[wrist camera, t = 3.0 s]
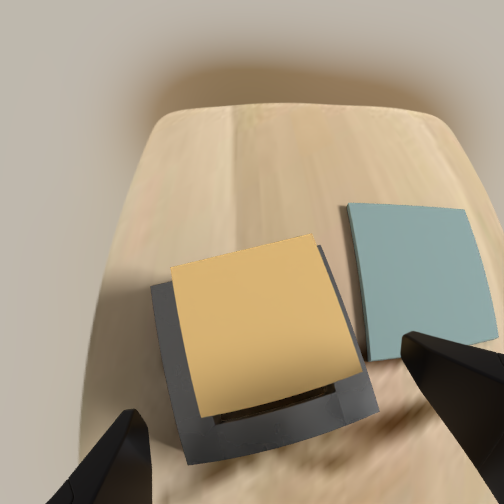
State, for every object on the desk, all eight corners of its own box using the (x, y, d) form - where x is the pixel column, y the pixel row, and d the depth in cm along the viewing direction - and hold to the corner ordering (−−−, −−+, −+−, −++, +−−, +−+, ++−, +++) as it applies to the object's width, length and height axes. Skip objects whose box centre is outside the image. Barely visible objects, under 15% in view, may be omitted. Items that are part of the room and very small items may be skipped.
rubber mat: (461, 213, 23) (464, 209, 22) (494, 339, 17) (498, 337, 17) (346, 207, 23) (348, 202, 23) (367, 361, 18) (371, 360, 17)
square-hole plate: (312, 265, 21) (320, 244, 18) (362, 410, 16) (379, 411, 13) (164, 302, 20) (150, 286, 17) (198, 455, 15) (187, 465, 12)
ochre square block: (287, 313, 19) (311, 233, 10) (309, 385, 17) (362, 371, 8) (211, 332, 19) (170, 267, 10) (230, 407, 17) (201, 417, 8)
